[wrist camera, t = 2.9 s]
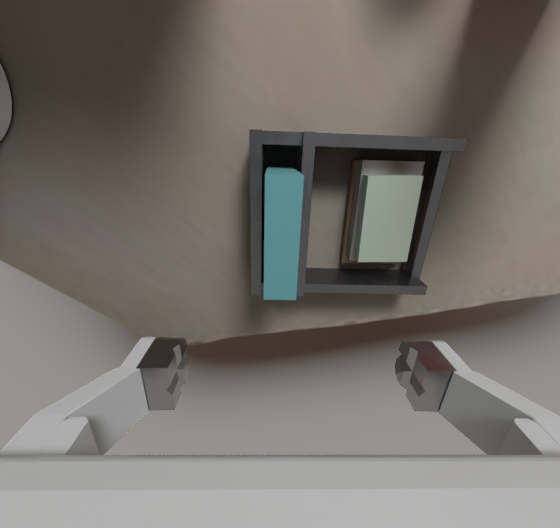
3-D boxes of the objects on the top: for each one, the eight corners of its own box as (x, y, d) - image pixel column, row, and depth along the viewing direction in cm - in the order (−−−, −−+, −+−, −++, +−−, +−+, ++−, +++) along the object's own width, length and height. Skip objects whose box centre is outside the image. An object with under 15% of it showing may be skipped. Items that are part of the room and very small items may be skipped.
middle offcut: (346, 255, 36) (349, 260, 34) (358, 159, 31) (363, 160, 30) (397, 256, 36) (403, 261, 35) (416, 161, 32) (424, 161, 30)
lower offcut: (339, 258, 38) (341, 263, 36) (349, 160, 33) (353, 160, 32) (394, 258, 38) (400, 263, 37) (413, 161, 33) (420, 162, 32)
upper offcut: (353, 256, 34) (357, 262, 33) (363, 174, 30) (368, 175, 29) (400, 256, 34) (406, 261, 33) (415, 174, 31) (423, 175, 29)
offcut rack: (254, 274, 38) (251, 295, 32) (253, 133, 31) (249, 129, 25) (406, 277, 39) (429, 298, 33) (439, 140, 32) (474, 138, 26)
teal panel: (266, 251, 37) (263, 299, 25) (267, 166, 32) (264, 173, 20) (288, 252, 37) (295, 300, 25) (292, 167, 33) (304, 175, 21)
